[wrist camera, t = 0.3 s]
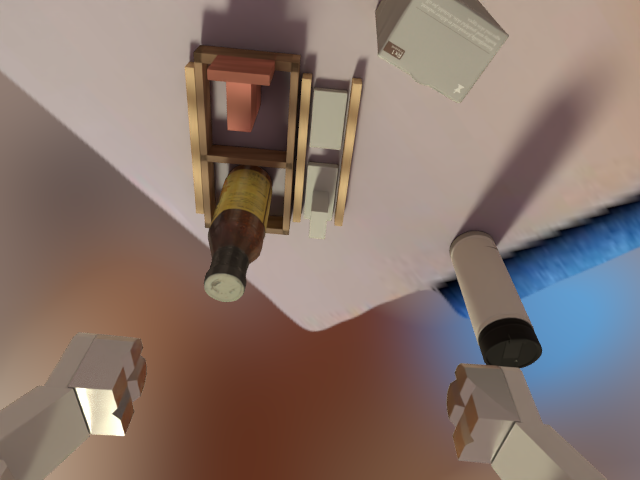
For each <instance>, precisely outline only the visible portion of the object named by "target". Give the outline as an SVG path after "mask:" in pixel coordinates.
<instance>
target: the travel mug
mask: <svg viewBox="0 0 640 480" xmlns="http://www.w3.org/2000/svg"><path fill="white" fill-rule="evenodd" d="M449 251H450V256H451V260H452V263H453V266H454V269H455V272H456V275H457V279H458V282H459V285H460V288H461V291H462V294H463V297H464V301H465V304H466V307H467V310H468V313H469V316H470V320H471V323H472V326H473V329H474V332H475V335H476V338H477V341H478V345H479V346H480V349H481V352H482V355H483V359H484V362H485V363H486V365H493V366H502V367H514V368H515V367H516V368H523V367H526V366H528V365H530V364H532V363H534V362H535V361H536V360H537V359H538V358H539V357H540V356H541V354H542V347H541V345H540V343H539V341H538V339H537V336H536V334H535V332H534V329H533V326H532V324H531V322H530V320H529V317H528V315H527V313H526V311H525V309H524V306H523V304H522V302H521V300H520V298H519V295H518V293H517V291H516V289H515V287H514V284H513V282H512V280H511V278H510V276H509V273H508V271H507V269H506V267H505V265H504V262H503V260H502V258H501V256H500V254H499V251H498V249H497V247H496V245H495V243H494V241H493V239H492V237H491V236H490V235H488V234H487V233H484V232H480V231H470V232H466V233H464V234H462V235H460V236H458V237H457V238H456V239H455V240H454V241H453V243H452V244H451V246H450V250H449Z"/></svg>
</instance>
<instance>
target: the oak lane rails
mask: <svg viewBox="0 0 640 480" xmlns="http://www.w3.org/2000/svg"><path fill="white" fill-rule="evenodd" d="M185 77H186V89H187V102H188V115H189V127H190V140H191V152H192V165H193V178H194V190H195V203H196V213H200V214H204V201H203V186H202V171H201V157H200V142H199V127H198V112H197V97H196V82H195V67H194V62H189V63H188V64H187V65H186V66H185ZM311 81H312V74H308V73H303V77H302V89H301V104H300V120H299V135H298V150H297V165H296V180H295V195H294V210H293V222H300V220H301V209H302V196H303V183H304V171H305V158H306V145H307V132H308V119H309V107H310V94H311ZM361 89H362V80H361V79H359V78H352V86H351V93H350V101H349V109H348V117H347V125H346V132H345V140H344V148H343V156H342V163H341V171H340V179H339V187H338V194H337V202H336V210H335V225H336V226H342V222H343V215H344V208H345V201H346V194H347V187H348V180H349V173H350V166H351V159H352V152H353V145H354V138H355V131H356V124H357V117H358V110H359V103H360V96H361Z"/></svg>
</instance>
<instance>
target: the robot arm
mask: <svg viewBox="0 0 640 480" xmlns="http://www.w3.org/2000/svg"><path fill="white" fill-rule="evenodd" d="M142 349H143V345H142V341H141V339H139V338H131V337H121V336H111V335H102V334H91V333H78V334H77V335H75V336H74V337H73V338H72V340H71V342H70V343H69V345H68V347H67V348H66V350H65V352H64V353H63V355H62V357H61V358H60V360H59V362H58V364H57V365H56V367H55V368H54V370H53V372H52V373H51V375H50V377H49V378H48V380H47V382H46V383H45V385H44V386H37V387H35V388H34V389H32V390H31V391H29V392H28V393H26V394H25V395H23V396H21V397H20V398H19V399H17V400H16V401H14V402H12V403H11V404H9V405H8V406H6V407H5V408H3V409H2V410H0V480H44V479H45V478H46V477H47V476H48V475H49V474H50V473H51V472H52V471H53V470H54V469H55V468H56V467H58V466H59V464H61V463H62V462H63V461H64V460H65V459H66V458H67V457H68V456H69V455H70V454H71V453H72V452H74V451H75V450H76V449H77V448H78V447H79V446H80V445H81V444H82V443H83V442H84V441H85V440H86V439H87V438H88V437H90V435H89V434H96V435H97V434H98V435H118V436H125V434H126V432H127V429H128V427H129V424H130V422H131V419H132V416H133V414H134V409H133V403H132V402H134V401H135V400H136V399H137V398H139V397H140V396H141V393H142V391H143V388H144V385H145V380H146V375H147V366H146V360H145V359H144V358H143V357H142V356H141V355H140V354H141V352H142ZM455 375H456V380H455V381H453V382H452V383H450V386H449V389H448V392H447V412H448V417H449V420H450V421H451V422H452V423H453V424H454V426H455V427H456V429H455V431H454V434H453V440H454V445H455V449H456V453H457V458H458V460H459V461H469V462H480V463H489V464H491V466H492V468H493V469H494V470H495V471H496V473H497V474H498V475H499V477H500V478H501V479H502V480H607V479H606V478H605V477H604V476H603V475H602V474H601V473H600V472H599V471H598V470H597V469H596V468H595V467H593V466H592V465H591V464H590V463H589V462H588V461H587V460H586V459H585V458H584V457H583V456H582V455H581V454H580V453H579V452H577V451H576V450H575V449H574V448H573V447H572V446H571V445H570V444H569V443H568V442H567V441H566V440H564V439H563V438H562V437H561V436H560V435H559V434H558V433H557V432H556V431H555V430H554V429H553V428H552V427H551V426H550V425H545V424H543V423H542V420H541V418H540V415H539V413H538V410H537V408H536V406H535V403H534V400H533V398H532V396H531V393H530V390H529V388H528V385H527V383H526V380H525V378H524V375H523V373H522V371H521V370H520V369H519V368H514V367H502V366H493V365H478V364H462V363H461V364H459V365H458V366H457V368H456V371H455Z"/></svg>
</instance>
